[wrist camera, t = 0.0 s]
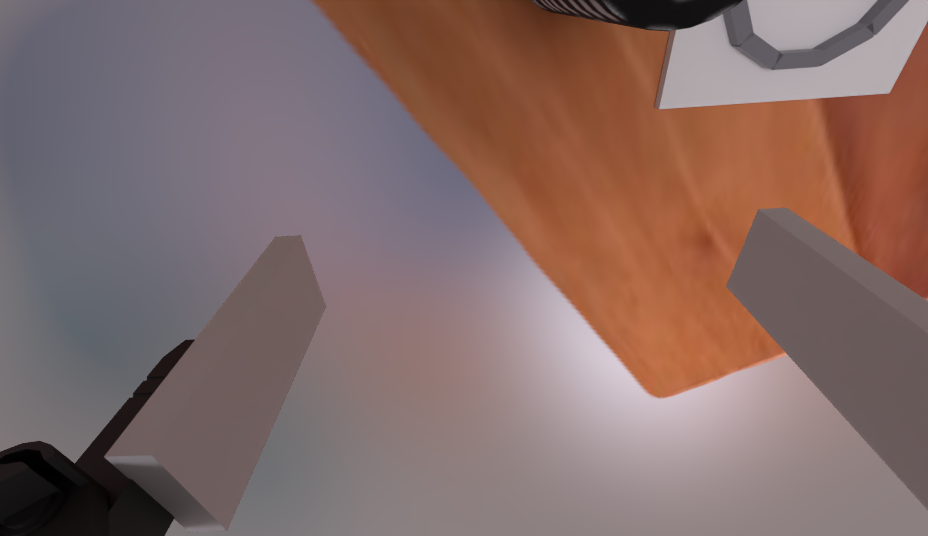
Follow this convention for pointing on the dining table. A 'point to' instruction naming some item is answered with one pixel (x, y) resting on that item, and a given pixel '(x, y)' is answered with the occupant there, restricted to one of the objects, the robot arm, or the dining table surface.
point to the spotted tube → (643, 11)
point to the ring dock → (790, 52)
